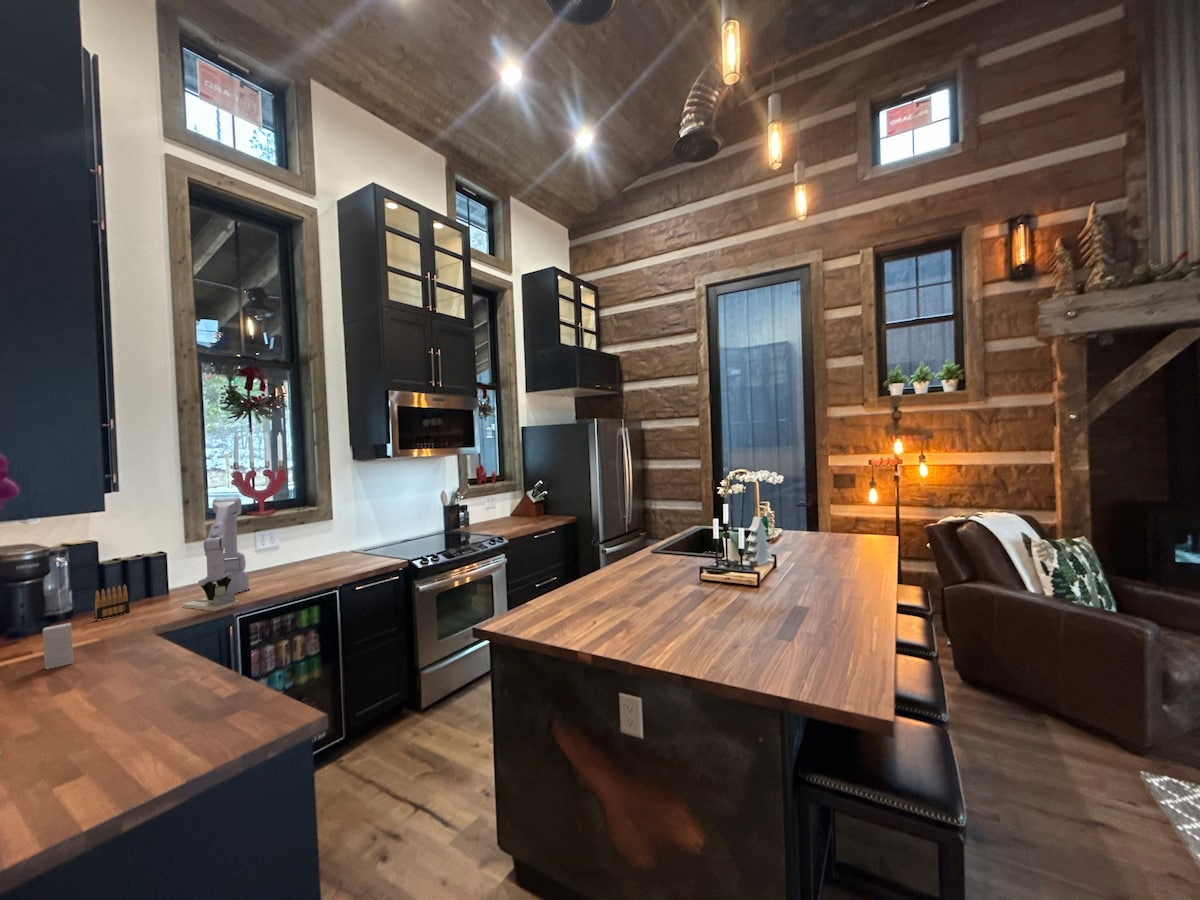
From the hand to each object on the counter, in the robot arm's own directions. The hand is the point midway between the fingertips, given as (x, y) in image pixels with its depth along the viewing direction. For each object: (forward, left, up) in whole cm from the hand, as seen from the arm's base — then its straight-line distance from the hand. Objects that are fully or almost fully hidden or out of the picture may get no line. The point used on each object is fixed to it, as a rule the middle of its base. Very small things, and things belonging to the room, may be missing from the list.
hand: (216, 598), depth 216 cm
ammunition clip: (+21, -30, -4) cm, 37 cm away
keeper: (0, 0, -1) cm, 1 cm away
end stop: (0, +5, -2) cm, 5 cm away
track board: (0, -4, -3) cm, 5 cm away
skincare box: (+56, +15, -4) cm, 58 cm away
